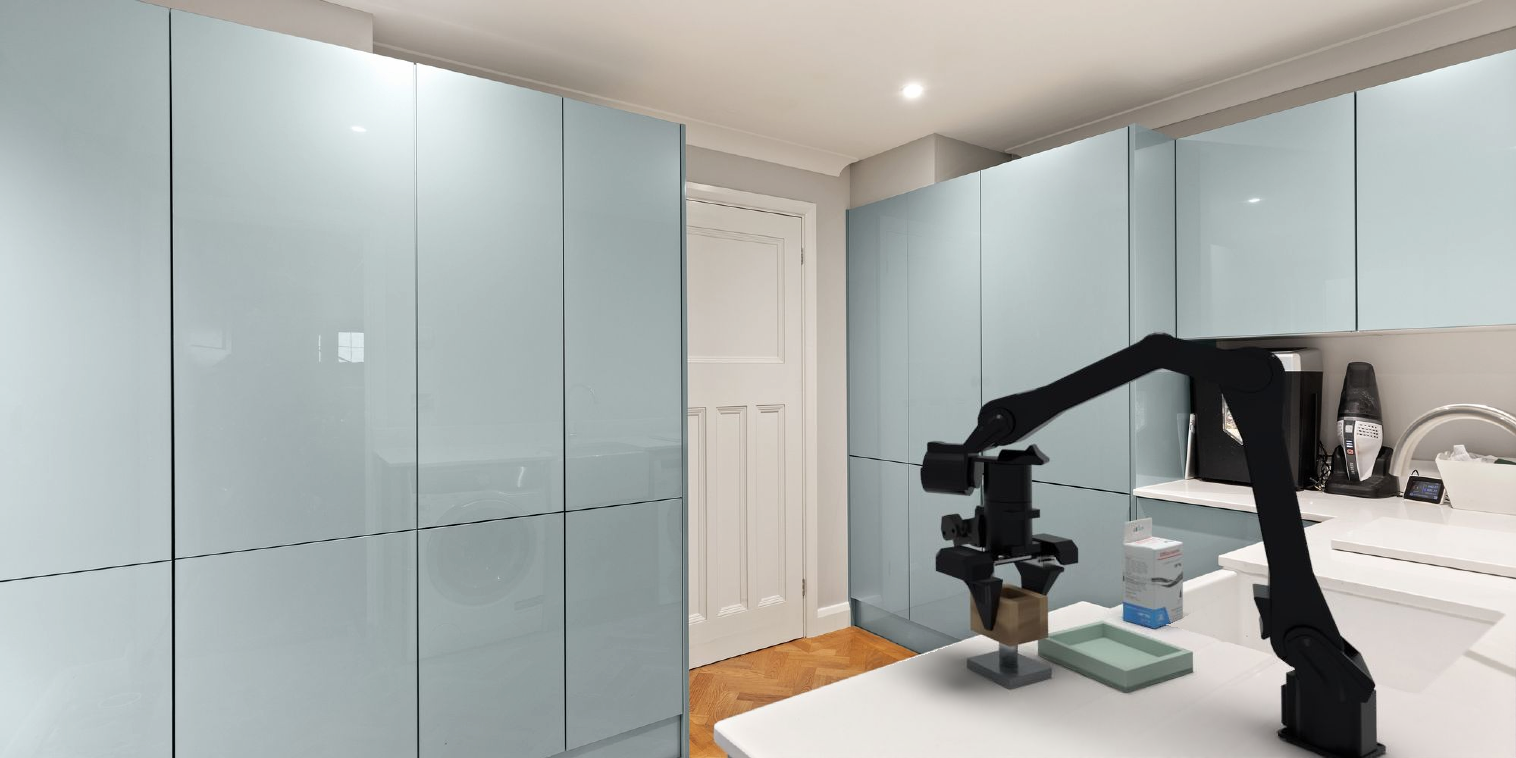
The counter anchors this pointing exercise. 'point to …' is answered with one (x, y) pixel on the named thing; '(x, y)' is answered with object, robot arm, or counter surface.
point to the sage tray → (1116, 655)
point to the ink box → (1151, 576)
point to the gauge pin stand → (1009, 667)
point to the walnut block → (1015, 617)
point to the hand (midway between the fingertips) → (1008, 625)
